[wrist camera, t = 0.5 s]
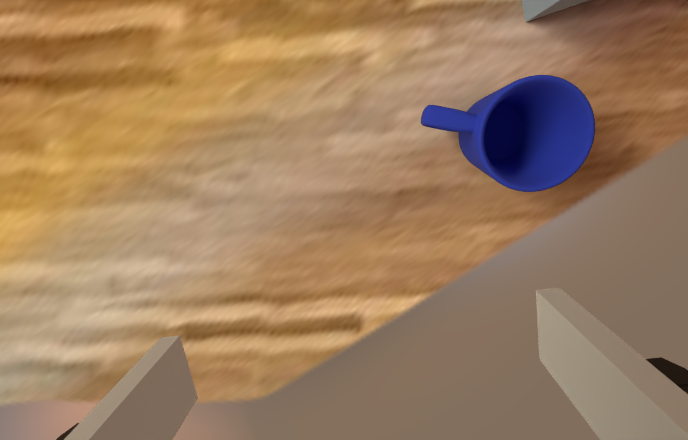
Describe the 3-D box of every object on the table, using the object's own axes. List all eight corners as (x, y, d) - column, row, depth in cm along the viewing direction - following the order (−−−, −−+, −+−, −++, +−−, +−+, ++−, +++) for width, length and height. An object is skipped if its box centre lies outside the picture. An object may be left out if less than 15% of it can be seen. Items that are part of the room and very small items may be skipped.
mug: (420, 72, 37) (441, 52, 27) (547, 97, 37) (613, 87, 27) (401, 159, 38) (413, 169, 29) (520, 183, 38) (573, 202, 29)
